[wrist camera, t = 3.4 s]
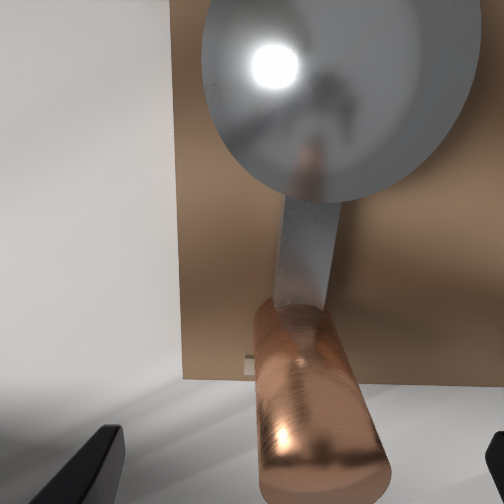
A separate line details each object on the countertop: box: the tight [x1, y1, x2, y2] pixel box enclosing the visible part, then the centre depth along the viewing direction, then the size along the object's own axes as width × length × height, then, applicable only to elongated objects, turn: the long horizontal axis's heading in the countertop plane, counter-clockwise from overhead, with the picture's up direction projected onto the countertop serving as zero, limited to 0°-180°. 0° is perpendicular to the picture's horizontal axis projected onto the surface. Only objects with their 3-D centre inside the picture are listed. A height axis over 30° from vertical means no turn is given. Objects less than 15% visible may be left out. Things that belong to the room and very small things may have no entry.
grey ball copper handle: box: [201, 0, 481, 504], centre depth 8 cm, size 12×6×6 cm, turn 177°
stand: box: [169, 0, 504, 387], centre depth 9 cm, size 21×14×3 cm, turn 177°
